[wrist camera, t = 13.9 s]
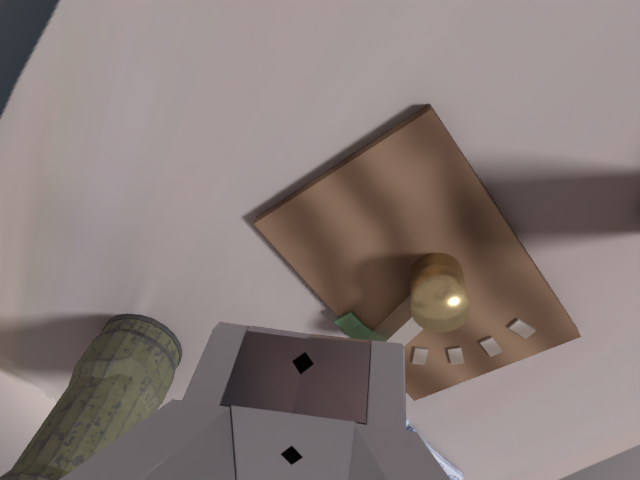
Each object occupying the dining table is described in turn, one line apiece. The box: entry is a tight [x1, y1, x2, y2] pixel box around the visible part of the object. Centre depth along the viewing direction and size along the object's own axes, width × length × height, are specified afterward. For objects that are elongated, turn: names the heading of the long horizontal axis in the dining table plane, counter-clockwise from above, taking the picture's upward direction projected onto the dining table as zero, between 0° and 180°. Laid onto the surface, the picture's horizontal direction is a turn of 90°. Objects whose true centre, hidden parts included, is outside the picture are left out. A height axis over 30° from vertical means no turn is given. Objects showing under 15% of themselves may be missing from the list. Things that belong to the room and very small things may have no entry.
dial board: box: [254, 104, 581, 401], centre depth 45 cm, size 18×25×2 cm
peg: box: [365, 253, 470, 346], centre depth 43 cm, size 11×4×5 cm, turn 147°
